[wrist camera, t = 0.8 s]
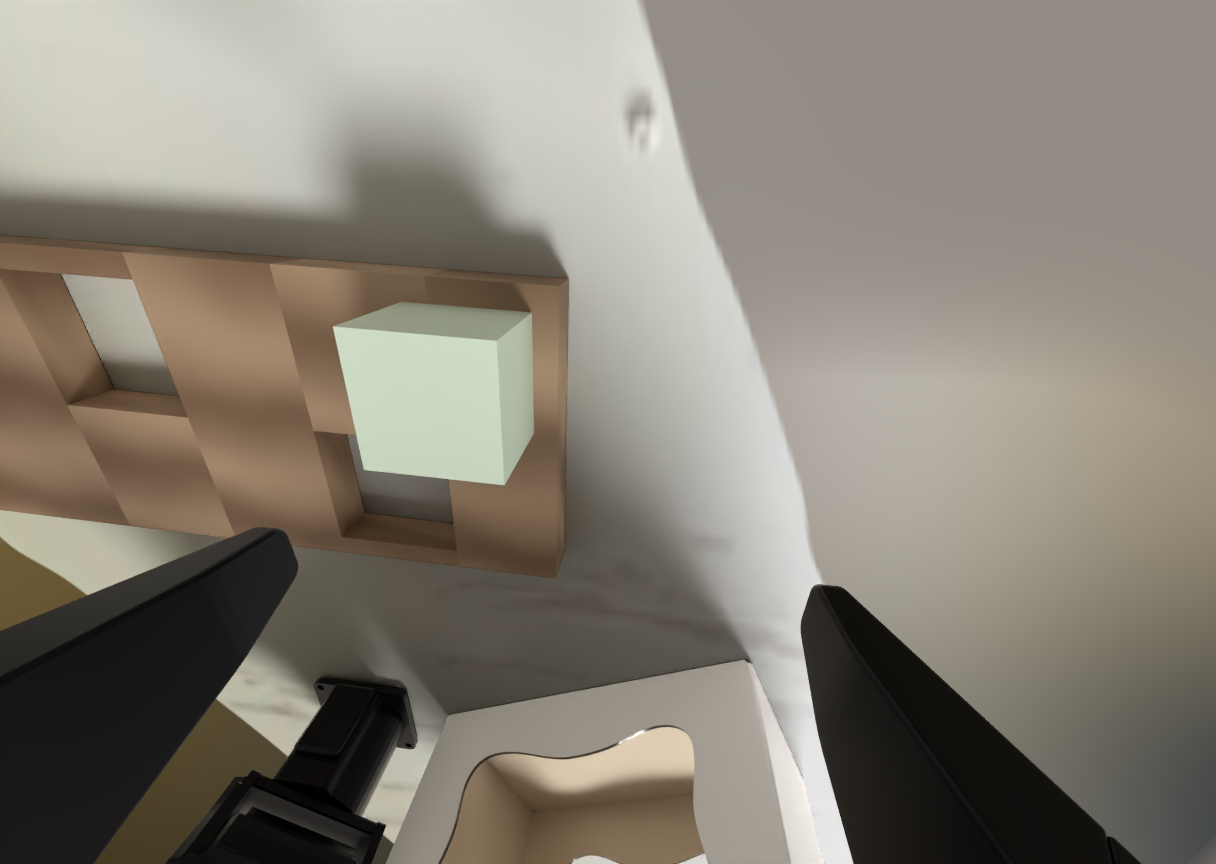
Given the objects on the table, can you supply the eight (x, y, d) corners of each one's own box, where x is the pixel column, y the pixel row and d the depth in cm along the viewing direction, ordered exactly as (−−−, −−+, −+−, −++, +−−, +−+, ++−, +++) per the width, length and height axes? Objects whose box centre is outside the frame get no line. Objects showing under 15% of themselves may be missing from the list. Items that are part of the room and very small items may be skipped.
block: (534, 432, 19) (504, 485, 15) (419, 421, 19) (364, 469, 16) (531, 312, 17) (496, 340, 13) (401, 301, 17) (332, 326, 13)
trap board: (563, 550, 24) (551, 596, 21) (24, 487, 26) (-53, 520, 24) (568, 278, 18) (551, 292, 15) (-140, 224, 20) (-273, 226, 17)
